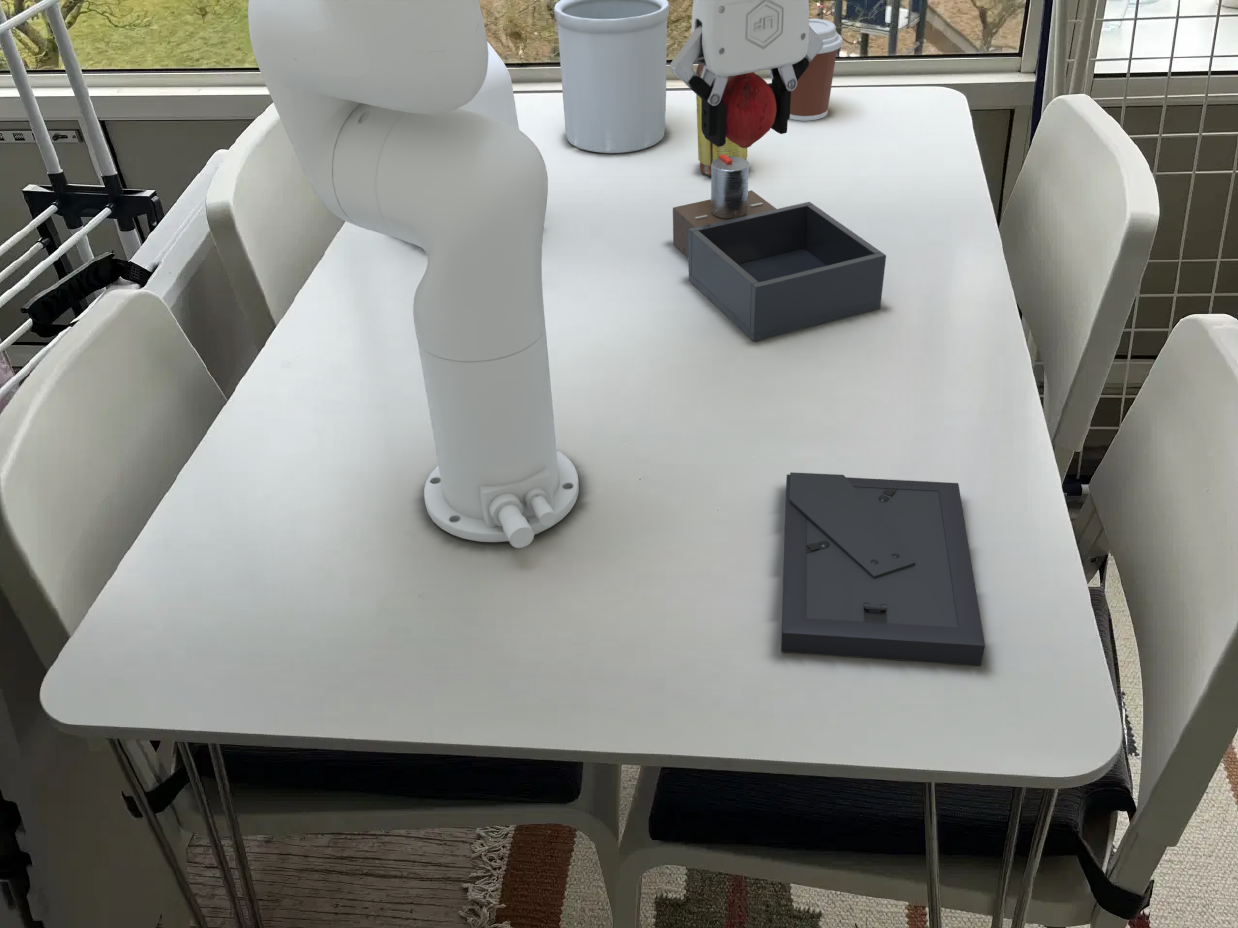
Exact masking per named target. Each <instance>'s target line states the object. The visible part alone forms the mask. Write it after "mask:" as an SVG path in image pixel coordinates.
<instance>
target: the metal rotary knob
mask: <svg viewBox="0 0 1238 928" xmlns="http://www.w3.org/2000/svg"><path fill="white" fill-rule="evenodd" d="M749 169H750V163H749V161H748V160H747V159H746V160H745V159H743V158H739V157H727V156H726V155H724V154H723V155H720V158H718V159H716V160H714V161H713V162H712V164H711V176H710V199H711V213H712V214H713V215H714V216H716V217H719V218H725V219H733V218H739V217H742V216H744V215H745V214H746V213H747V209H748V191H749V173H750V172H749Z"/></svg>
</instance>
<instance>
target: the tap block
mask: <svg viewBox="0 0 1238 928" xmlns="http://www.w3.org/2000/svg"><path fill="white" fill-rule="evenodd" d="M775 209H777V208H776V207H775V206H774V205H772V204H771V203H770V202H768V201H767V200H766V199H764V198H763V197H762V196H760V195H759V194H757V193H756V192H754V190H748V209H747V213H746V214H745V215H744V216H748V215H753V214H757V213H762V212H766V211H770V210H775ZM744 216H742V217H744ZM733 219H735V218H733ZM726 220H731V219H725V218H719V217H716V216H714V215H713V214H712V213H711V198H710V199H706V200H705V199H704V200H700V201H696V202H692V203H687V204H683V205H678V206H674V207H672V244H673V245H674V247H676V248H677V249H678V250H679V251H680V252H681V253H682V254H683V255H685V256H686V257H687V259H689V256H688V229H691V228H695V227H700V226H704V225H708V224H713V223H717V222H722V221H726Z"/></svg>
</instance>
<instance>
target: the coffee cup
mask: <svg viewBox="0 0 1238 928" xmlns="http://www.w3.org/2000/svg"><path fill="white" fill-rule="evenodd" d="M809 26H810V27H811V28H812V29H813V30H814V32H815V33H816V34H817V35H818V36H819V37H820V38H821V40H822V41H823V47H822V48H821V50H820V51H819V52H818V53H817V55H816V56H815V57H814V58H813V59H812V61H810V62H809V66H808V68H807V69H806V70H805V71H804V73H803V74H802V75H801V77H800V78H799V79H798V80H797V87H796V88H795V89H794V90H793V91H791V103H790V118H789V120H790V119H791V120H794V121H803V122H806V121H816V120H820V119H823V118H825V117H827V115H828V113H829V105H830V99H831V98H830V97H831V92H832V86H833V78H834V72H835V66H836V59H837V53H838V50H839V49H840V48H841V47H842V46H843V44H844V39H843V37H842V36H841V34H839V33H838V32H837V26H836V25H835V24H834V22H832V21H829V20H827V19H822V18H809Z"/></svg>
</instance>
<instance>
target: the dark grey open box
mask: <svg viewBox="0 0 1238 928" xmlns="http://www.w3.org/2000/svg"><path fill="white" fill-rule="evenodd" d="M688 256H689V258H688V281H689V282H690V283H691V284H692V285H693V286H694V287H695V288H696V289H697V290H698V291H699V292H700V293H702V295H704V296H705V297H706V299H708V300H709V302H711V303H712V304H713V305H714V306H715V307H716V308H717V309H718V310H719V311H720V312H721V313H722V314H723V315H725V316H726V318H727V319H729V320H730V321H731V322H732V323H733V324H734V325H735V326H736V327H737V328H738V329H739V330H740V331H742V332H743V333H744V334H745V335H746V336H747V337H748V338H749V339H750V340H751V341H752V342H753V343H756V342H759V341H762V340H767V339H771V338H774V337H778V336H782V335H785V334H790V333H793V332H796V331H801V330H804V329H809V328H812V327H816V326H820V325H823V324H827V323H831V322H835V321H839V320H842V319H846V318H850V317H854V316H857V315H862V314H865V313H870V312H872V311H876V310H880V309H881V304H882V297H883V289H884V280H885V279H884V277H885V270H886V269H885V268H886V261H887V260H886V259H887V255H886V254H885V253H884V252H882V251H881V250H879V249H878V248H876V247H875V246H873V244H871V243H869V242H868V241H867V240H865V239H864V238H862V237H861V236H860V235H858V234H856V233H855V232H853V231H852V230H850V229H849V228H848V227H846V226H845V225H844V224H842V223H841V222H839V221H838V220H837V219H836V218H833V217H832V216H831V215H829V214H827V213H826V212H825V211H824V210H822V209H821V208H819V207H818V206H816V205H815V204H813V203H812V202H811V201H806V202H802V203H797V204H794V205H787V206H784V207H780V208H776V209H775V210H770V211H766V212H762V213H757V214H753V215H748V216H744V217H739V218H735V219H731V220H726V221H722V222H717V223H713V224H708V225H704V226H700V227H695V228H691V229H688Z"/></svg>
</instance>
